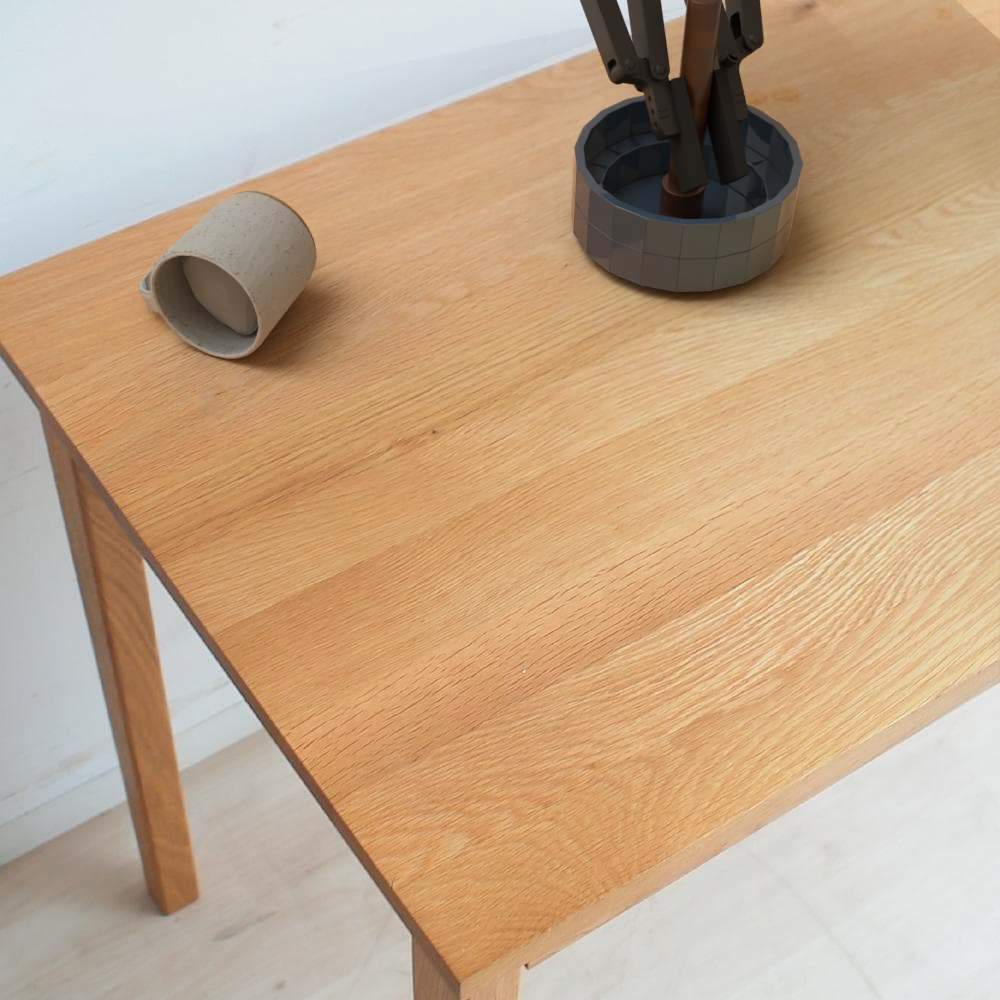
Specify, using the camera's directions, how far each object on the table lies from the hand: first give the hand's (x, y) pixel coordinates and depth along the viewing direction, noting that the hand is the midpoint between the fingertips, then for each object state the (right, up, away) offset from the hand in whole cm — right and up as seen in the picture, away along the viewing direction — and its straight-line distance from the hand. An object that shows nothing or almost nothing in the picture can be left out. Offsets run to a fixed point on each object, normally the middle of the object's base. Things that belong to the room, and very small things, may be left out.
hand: (714, 183), depth 88 cm
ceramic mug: (-30, -8, +2) cm, 31 cm away
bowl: (-1, -2, +7) cm, 8 cm away
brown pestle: (-1, -1, +7) cm, 7 cm away
